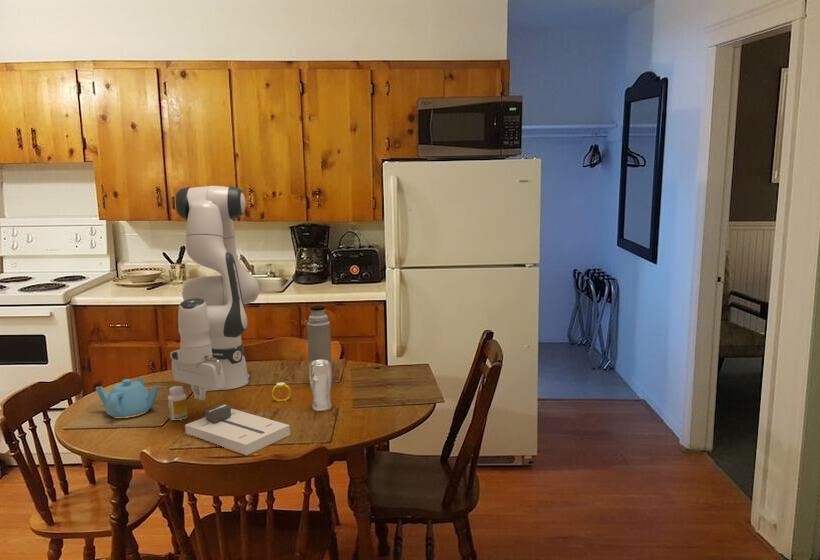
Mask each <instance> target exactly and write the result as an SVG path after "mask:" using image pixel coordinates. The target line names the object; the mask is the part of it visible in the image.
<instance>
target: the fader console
mask: <svg viewBox="0 0 820 560" xmlns="http://www.w3.org/2000/svg"><path fill="white" fill-rule="evenodd" d="M184 428H185V429H184V430H185V434H186V433H187V434H190V435H193V436H196V437H199V438H201V439H205V440H207V441H210V442H212V443H215V444H217V445H216V446H218V445H220V446H222V447H221V448H223V447H224V448H223V449H227V450H230V451H232V452H235V453H239V454H242V455H244V456H248V455H251V454H253V453H255V452H257V451H260V450H261V449H264V448H266V447H268V446H271V445H272V444H274V443H276V442H278V441H280V440H283V439H284V438H287V437H289V436H290V435H291V430H290V424H287V423H283V422H280V421H277V420H273V419H269V418H265V417H263V416H259V415H257V414H256V415H255V414H251V413H248V412H245V411H242V410H238V409H235V408H232V407H231V417H228V418H226V419H223V420H221V421H218V422H216V423H214V422H211V421H207V420H206V416H204V417H202V418H199V419H197V420H194V421H192V422H188V423H187V424H184ZM212 443H211V444H212ZM215 444H214V445H215ZM220 446H219V447H220Z"/></svg>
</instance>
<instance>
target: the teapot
mask: <svg viewBox="0 0 820 560" xmlns="http://www.w3.org/2000/svg"><path fill="white" fill-rule="evenodd" d="M143 380H144V378H143V377H137V378H136V380H135V381H134V380H132V379H131V378H125V379H122V381H121V382H120V383H119V382H118V383H117V384H115V385H114V386H112V388H111V390H110V391H109V392H108V391H107V390H106V389H104V387H103V386H96V387H95V391H96V392H97V394H98V397H99V399H100V400H101V402H102V404H103V406H104V410H105V414H107V415H108V416H109V415H110V416H109V417H111V416H113V417H126V416H133V415H138V414H141V413H144V412H146V411H148V410H149V409H150V408H151V409H152V407H153V405H154V404H155V401H156V399H157V395H158V392H159V388H160V386H159V385H153V386H152V388H151V390H150V392H149V390H148V388H146V386H145V385H144V381H143ZM151 409H150V410H151ZM150 410H149V411H150ZM149 411H148V412H149Z"/></svg>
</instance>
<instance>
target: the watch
mask: <svg viewBox="0 0 820 560" xmlns="http://www.w3.org/2000/svg"><path fill="white" fill-rule="evenodd" d="M282 387H285V388H287V391H288V392H289V393H288V396H287V397H286V398H281V399H279V398H277V397H275V395H274V392H275V389H277V388H282ZM291 395H292V392H291V388H290V386H289V385H288V384H286V383H285V382H281V381H280V382H277V383H276V384H275V385H274V386H273V388H272V391H271V396H272V398H273V400H274V401H275V402H287V401H288V400H289V399H290V397H291Z"/></svg>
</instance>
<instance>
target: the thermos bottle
mask: <svg viewBox="0 0 820 560" xmlns="http://www.w3.org/2000/svg"><path fill="white" fill-rule="evenodd" d="M309 308H310V314H309V316H308V321H307V322H306V335H307V336H306V337H307V338H306V339H307V352H308V364H309V363H310V362H311V361H314V360H320V359H324V360H329V361H330V365H331V374H332V375H333V363H332V362H333V361H332V360H333V359H332V341H331V340H332V339H331V338H332V337H331V322H330V321H329V320H328V319H329V316H328V315H327V314H326V310H325V309H326V308H325V306H324V305H313V306H311V307H309ZM333 382H334V381H333V378H332V380H331V386H333ZM309 386H310V387H311V385H310V384H309Z"/></svg>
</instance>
